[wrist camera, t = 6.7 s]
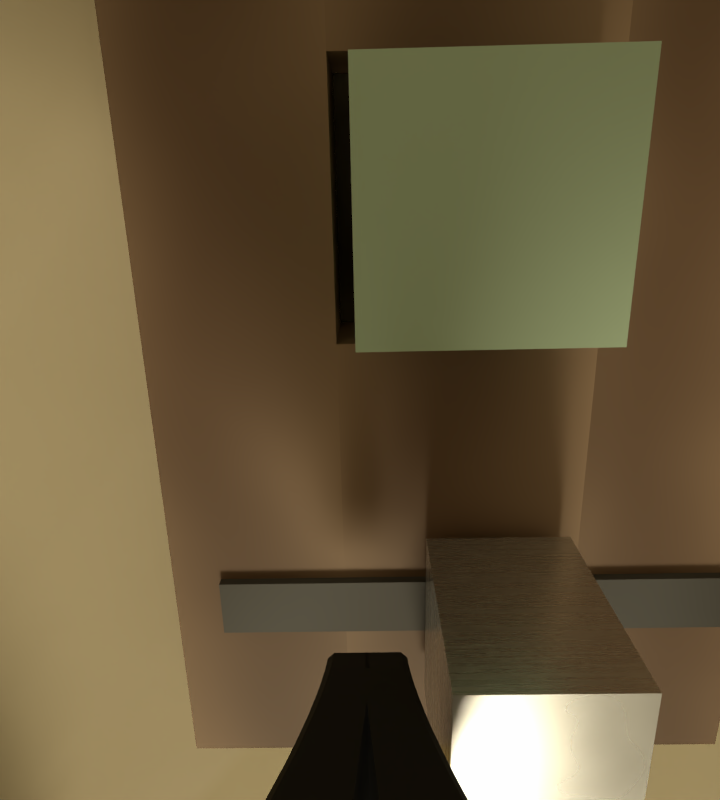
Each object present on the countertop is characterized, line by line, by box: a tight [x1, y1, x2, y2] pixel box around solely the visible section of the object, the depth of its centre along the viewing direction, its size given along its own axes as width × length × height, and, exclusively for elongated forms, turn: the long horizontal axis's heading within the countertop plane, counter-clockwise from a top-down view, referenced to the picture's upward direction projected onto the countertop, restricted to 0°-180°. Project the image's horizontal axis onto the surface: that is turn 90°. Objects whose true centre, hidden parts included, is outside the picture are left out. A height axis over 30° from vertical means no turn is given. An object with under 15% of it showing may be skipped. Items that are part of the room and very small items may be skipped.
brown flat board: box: [95, 0, 720, 748], centre depth 12 cm, size 12×24×2 cm, turn 1°
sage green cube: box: [348, 41, 662, 352], centre depth 10 cm, size 4×4×4 cm
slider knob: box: [424, 537, 662, 800], centre depth 11 cm, size 3×4×4 cm
